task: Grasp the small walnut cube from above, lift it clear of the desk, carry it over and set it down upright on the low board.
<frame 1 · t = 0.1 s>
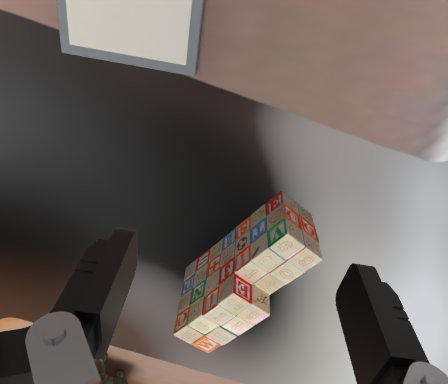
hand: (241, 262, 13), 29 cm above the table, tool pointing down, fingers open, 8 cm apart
stack of blocks: (244, 241, 51), on the table
tabletop clock: (112, 368, 73), on the table
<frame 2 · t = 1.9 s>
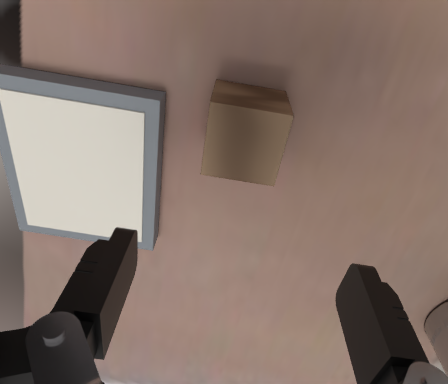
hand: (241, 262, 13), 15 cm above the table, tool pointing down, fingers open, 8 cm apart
cube: (244, 118, 25), on the table
board: (90, 162, 28), on the table
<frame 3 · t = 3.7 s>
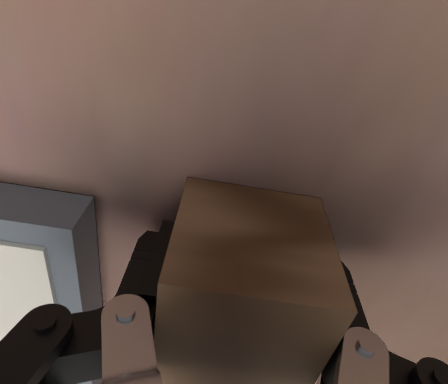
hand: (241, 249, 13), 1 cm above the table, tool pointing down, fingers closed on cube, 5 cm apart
cube: (242, 237, 14), on the table, touching gripper
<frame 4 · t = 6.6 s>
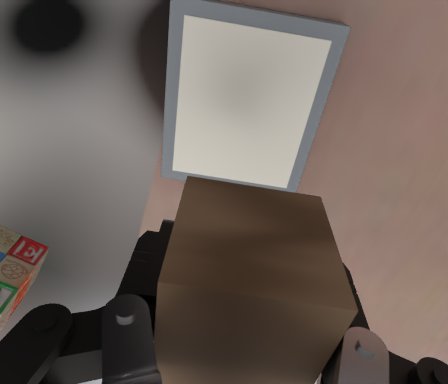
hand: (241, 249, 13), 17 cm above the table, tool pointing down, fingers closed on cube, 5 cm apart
cube: (242, 236, 14), point 16 cm above the table, touching gripper
board: (242, 104, 27), on the table
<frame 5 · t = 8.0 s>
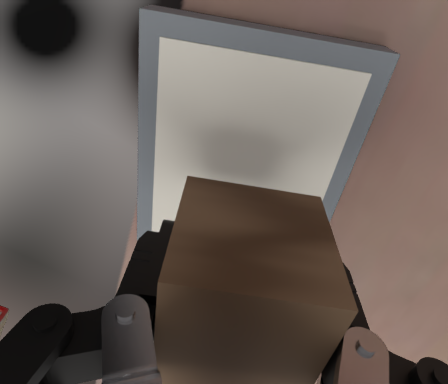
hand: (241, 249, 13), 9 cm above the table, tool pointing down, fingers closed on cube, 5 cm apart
cube: (242, 236, 14), point 8 cm above the table, touching gripper
board: (243, 149, 21), on the table
when the fingers open (4 cm above the table, at t = 9.4 s): cube drops 1 cm, resting on board.
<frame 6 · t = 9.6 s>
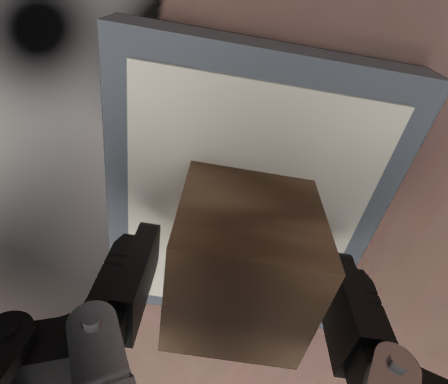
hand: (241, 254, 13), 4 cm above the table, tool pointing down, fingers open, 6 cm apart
cube: (241, 219, 15), point 2 cm above the table, touching board
board: (241, 191, 17), on the table
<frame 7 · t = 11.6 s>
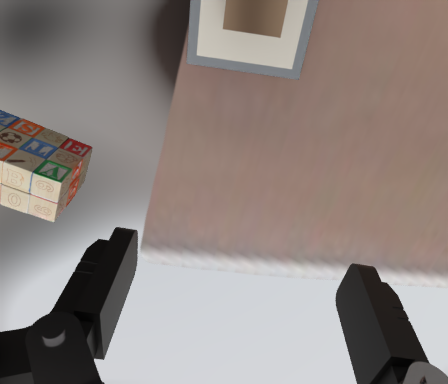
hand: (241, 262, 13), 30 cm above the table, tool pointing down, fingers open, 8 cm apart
stack of blocks: (8, 132, 43), on the table
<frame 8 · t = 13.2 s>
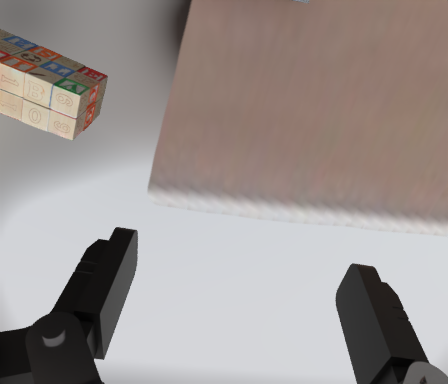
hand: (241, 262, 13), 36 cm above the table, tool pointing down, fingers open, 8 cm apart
stack of blocks: (27, 62, 45), on the table
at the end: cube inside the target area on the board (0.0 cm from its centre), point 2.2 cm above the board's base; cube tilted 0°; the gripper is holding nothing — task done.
